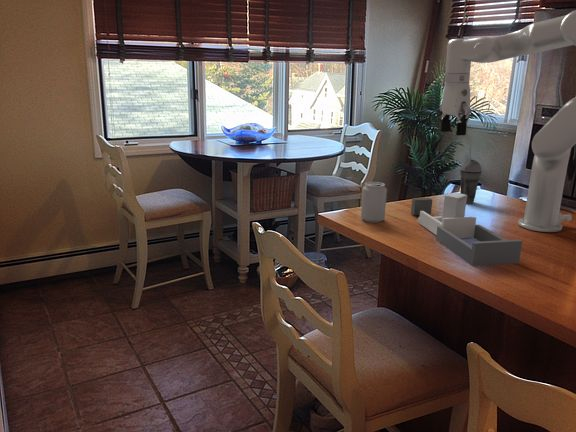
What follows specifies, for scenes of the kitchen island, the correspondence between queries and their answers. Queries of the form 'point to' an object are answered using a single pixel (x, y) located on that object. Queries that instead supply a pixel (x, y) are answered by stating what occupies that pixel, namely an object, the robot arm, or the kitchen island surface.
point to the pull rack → (442, 220)
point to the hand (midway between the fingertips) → (452, 133)
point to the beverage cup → (470, 178)
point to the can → (373, 202)
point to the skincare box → (454, 205)
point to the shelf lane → (482, 247)
